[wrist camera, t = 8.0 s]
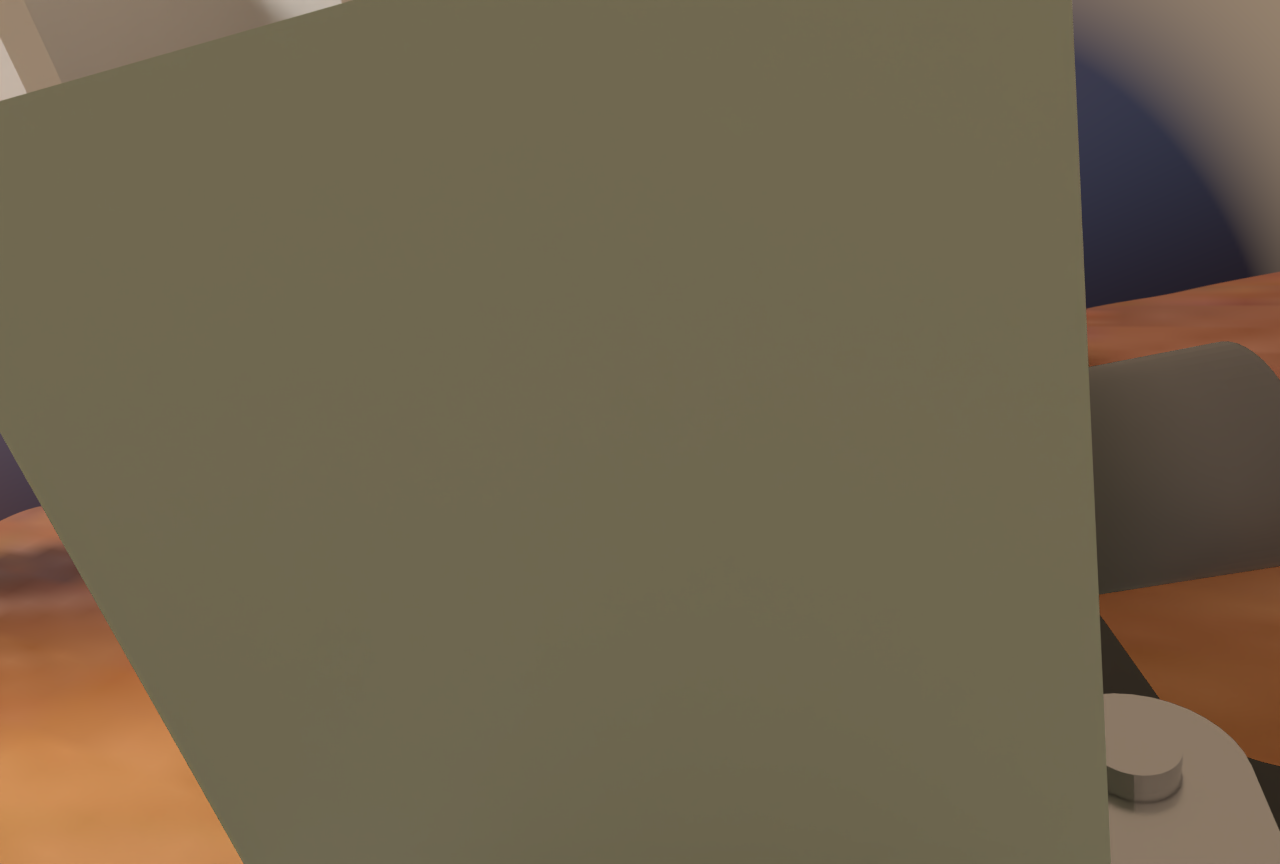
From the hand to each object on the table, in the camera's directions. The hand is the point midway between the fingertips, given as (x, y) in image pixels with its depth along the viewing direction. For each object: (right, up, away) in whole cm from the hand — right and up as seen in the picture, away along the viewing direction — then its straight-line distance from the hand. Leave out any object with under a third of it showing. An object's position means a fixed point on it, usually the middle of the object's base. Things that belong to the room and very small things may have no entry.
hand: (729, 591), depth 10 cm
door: (+2, -7, 0) cm, 8 cm away
